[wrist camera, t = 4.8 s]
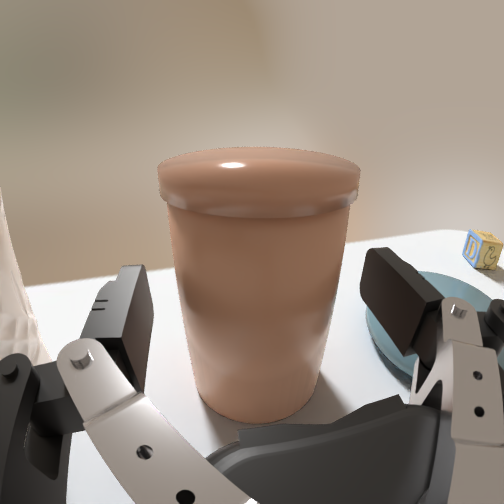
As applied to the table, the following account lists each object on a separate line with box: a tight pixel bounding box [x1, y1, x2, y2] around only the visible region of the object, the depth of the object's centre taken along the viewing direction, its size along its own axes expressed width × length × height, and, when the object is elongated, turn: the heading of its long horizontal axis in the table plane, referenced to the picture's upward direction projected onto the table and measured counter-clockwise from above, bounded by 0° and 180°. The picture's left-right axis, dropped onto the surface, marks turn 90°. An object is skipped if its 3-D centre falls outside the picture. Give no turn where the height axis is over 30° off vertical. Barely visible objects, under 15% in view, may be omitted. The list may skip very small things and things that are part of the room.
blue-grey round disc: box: [366, 271, 504, 377], centre depth 15 cm, size 11×11×1 cm
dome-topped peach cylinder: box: [158, 147, 360, 424], centre depth 12 cm, size 6×6×10 cm
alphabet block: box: [462, 229, 503, 270], centre depth 23 cm, size 3×3×3 cm
